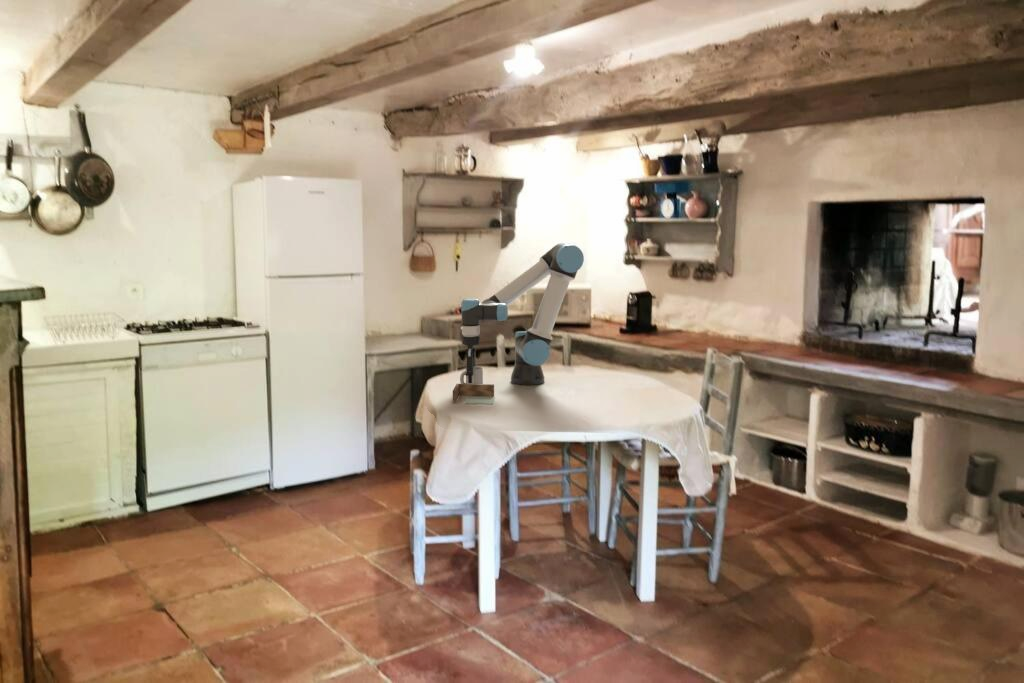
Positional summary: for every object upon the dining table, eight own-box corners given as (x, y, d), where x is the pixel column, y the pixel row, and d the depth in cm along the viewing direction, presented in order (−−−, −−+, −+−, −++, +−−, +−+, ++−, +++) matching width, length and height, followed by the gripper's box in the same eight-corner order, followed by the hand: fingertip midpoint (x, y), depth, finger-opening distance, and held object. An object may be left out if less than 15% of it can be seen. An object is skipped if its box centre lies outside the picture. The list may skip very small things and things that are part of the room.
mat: (495, 397, 327) (494, 396, 327) (492, 404, 315) (492, 403, 315) (468, 396, 327) (468, 396, 327) (465, 403, 315) (465, 403, 315)
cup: (485, 389, 338) (484, 369, 337) (462, 391, 335) (462, 370, 334) (479, 386, 345) (479, 366, 344) (457, 388, 342) (457, 367, 340)
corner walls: (494, 396, 329) (494, 384, 328) (491, 403, 315) (491, 391, 315) (456, 395, 330) (456, 383, 329) (452, 403, 316) (452, 390, 315)
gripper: (464, 331, 347) (465, 383, 351) (459, 339, 327) (460, 393, 331) (481, 331, 347) (482, 383, 350) (477, 339, 327) (477, 393, 330)
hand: (471, 388), depth 341 cm, fingers closed on cup, 7 cm apart
